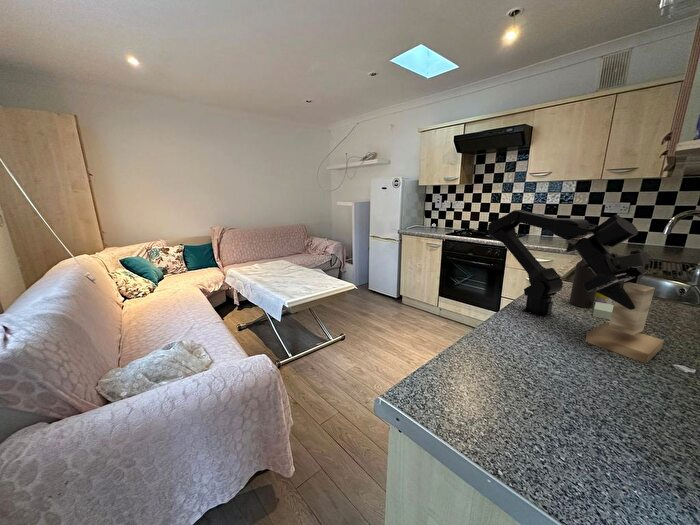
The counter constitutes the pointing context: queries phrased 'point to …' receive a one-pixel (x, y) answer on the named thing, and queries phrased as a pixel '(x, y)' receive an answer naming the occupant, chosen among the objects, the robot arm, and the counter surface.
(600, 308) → the sage block
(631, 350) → the oak block
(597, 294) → the supplement bottle
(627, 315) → the beech post
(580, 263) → the vinegar
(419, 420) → the counter surface
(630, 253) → the robot arm
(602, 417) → the counter surface
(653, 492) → the counter surface
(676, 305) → the counter surface
